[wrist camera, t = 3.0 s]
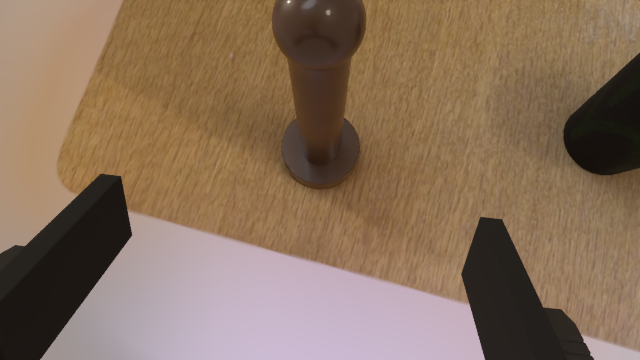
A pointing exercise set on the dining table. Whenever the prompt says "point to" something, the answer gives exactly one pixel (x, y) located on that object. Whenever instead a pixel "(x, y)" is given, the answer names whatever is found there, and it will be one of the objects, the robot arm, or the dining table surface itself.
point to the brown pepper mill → (319, 86)
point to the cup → (608, 125)
